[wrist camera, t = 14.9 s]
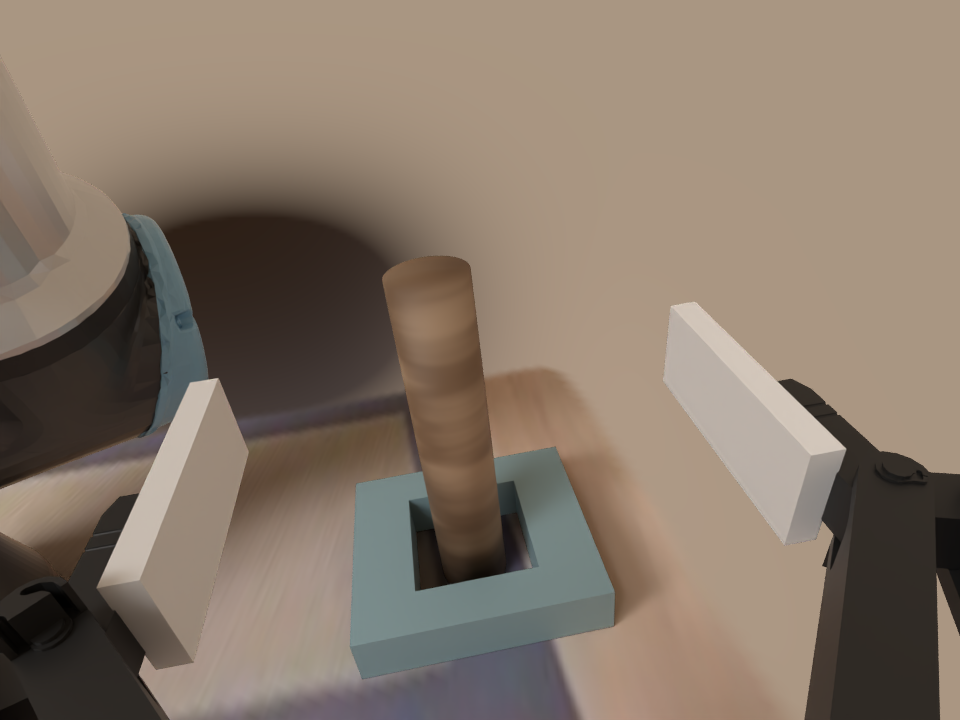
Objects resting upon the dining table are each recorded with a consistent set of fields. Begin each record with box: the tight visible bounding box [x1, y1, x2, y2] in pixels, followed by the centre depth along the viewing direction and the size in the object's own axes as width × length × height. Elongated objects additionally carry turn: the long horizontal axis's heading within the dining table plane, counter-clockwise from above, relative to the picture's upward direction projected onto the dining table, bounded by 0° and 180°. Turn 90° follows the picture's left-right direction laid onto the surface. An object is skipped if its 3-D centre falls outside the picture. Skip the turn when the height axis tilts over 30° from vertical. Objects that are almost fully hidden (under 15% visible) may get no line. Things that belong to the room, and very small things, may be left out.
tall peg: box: [382, 256, 506, 584], centre depth 32 cm, size 4×4×20 cm
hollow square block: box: [350, 447, 615, 679], centre depth 36 cm, size 12×14×3 cm
